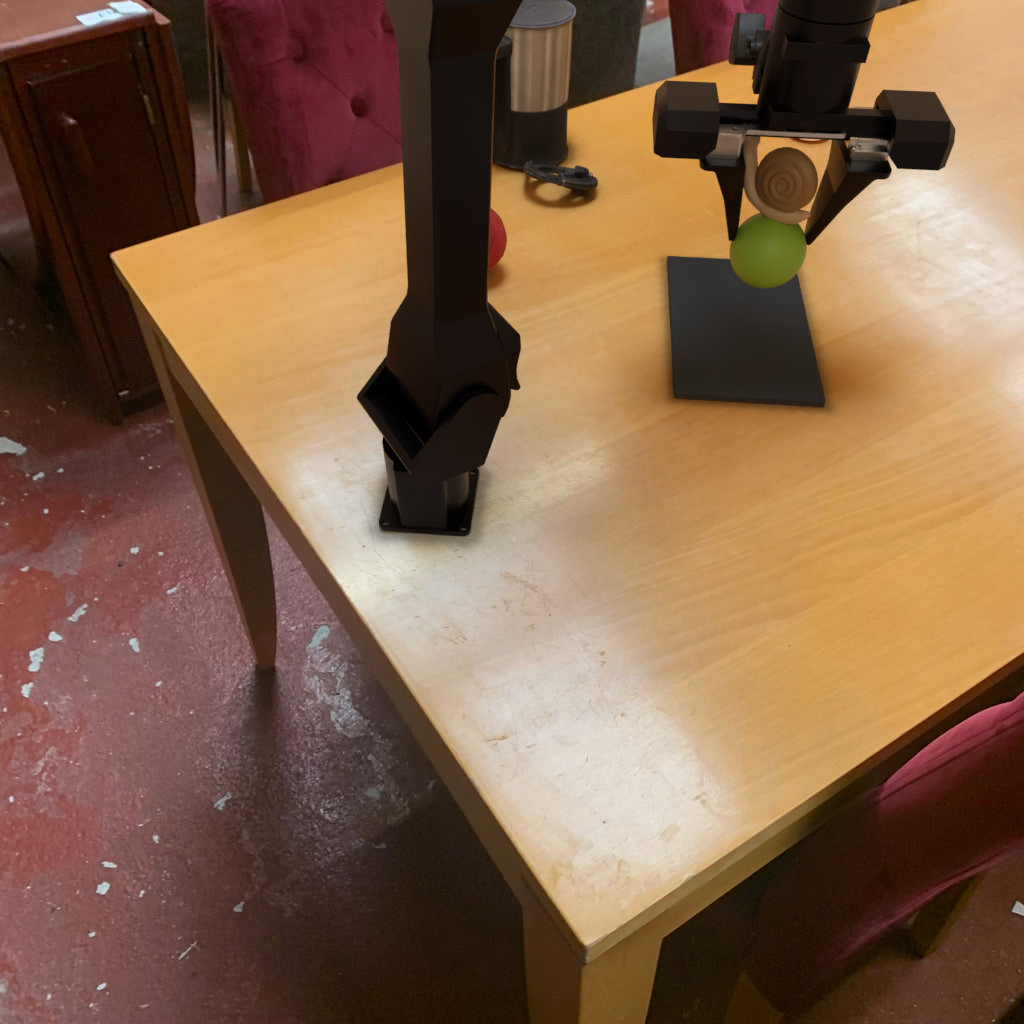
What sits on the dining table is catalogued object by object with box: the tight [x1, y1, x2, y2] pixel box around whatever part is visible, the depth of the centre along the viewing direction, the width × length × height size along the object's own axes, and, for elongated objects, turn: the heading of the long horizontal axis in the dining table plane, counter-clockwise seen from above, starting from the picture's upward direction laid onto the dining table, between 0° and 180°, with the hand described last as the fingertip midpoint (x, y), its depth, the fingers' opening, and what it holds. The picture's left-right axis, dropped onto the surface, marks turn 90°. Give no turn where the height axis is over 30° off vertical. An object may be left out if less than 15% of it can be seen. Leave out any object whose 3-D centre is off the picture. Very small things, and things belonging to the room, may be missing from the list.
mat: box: [666, 255, 827, 408], centre depth 78 cm, size 20×12×1 cm, turn 175°
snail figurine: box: [729, 136, 819, 288], centre depth 63 cm, size 5×6×12 cm
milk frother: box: [492, 0, 599, 194], centre depth 92 cm, size 14×16×15 cm
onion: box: [489, 208, 508, 271], centre depth 81 cm, size 6×6×8 cm
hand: (768, 240), depth 65 cm, fingers closed on snail figurine, 5 cm apart
